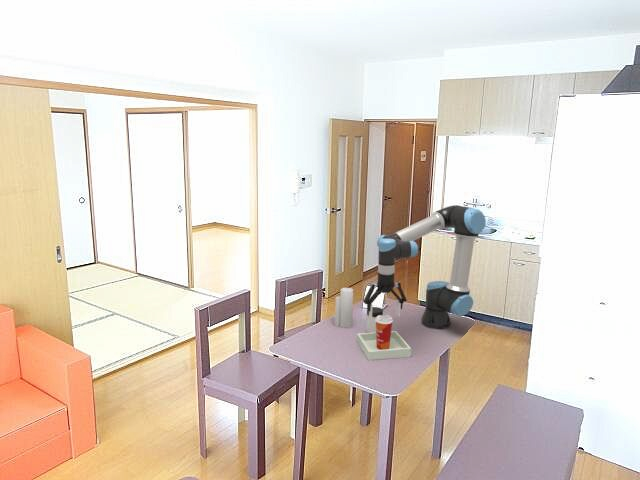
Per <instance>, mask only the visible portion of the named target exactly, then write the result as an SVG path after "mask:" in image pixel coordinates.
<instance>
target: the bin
mask: <svg viewBox="0 0 640 480" xmlns="http://www.w3.org/2000/svg"><path fill="white" fill-rule="evenodd" d="M356 342H357V344H358V346H359V347H360V349H361V350H362V352H363V354H364V355H365V357H366V358H367V360H368V361H375V360H376V361H377V360H388V359H400V358H401V359H402V358H411V357H412V347H410V345H409V344H408V343H407V342H406V340H405V339H404V338H403V337H402V336H401V335H400V334H399V333H398V331H397V330H391V337H390V346H389V349H386V350H380V349H378V348H377V345H376V332H375V333H367V332H365V333H364V332H362V333H356Z"/></svg>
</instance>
